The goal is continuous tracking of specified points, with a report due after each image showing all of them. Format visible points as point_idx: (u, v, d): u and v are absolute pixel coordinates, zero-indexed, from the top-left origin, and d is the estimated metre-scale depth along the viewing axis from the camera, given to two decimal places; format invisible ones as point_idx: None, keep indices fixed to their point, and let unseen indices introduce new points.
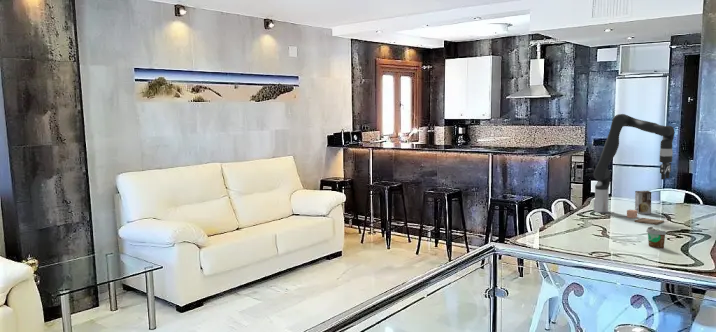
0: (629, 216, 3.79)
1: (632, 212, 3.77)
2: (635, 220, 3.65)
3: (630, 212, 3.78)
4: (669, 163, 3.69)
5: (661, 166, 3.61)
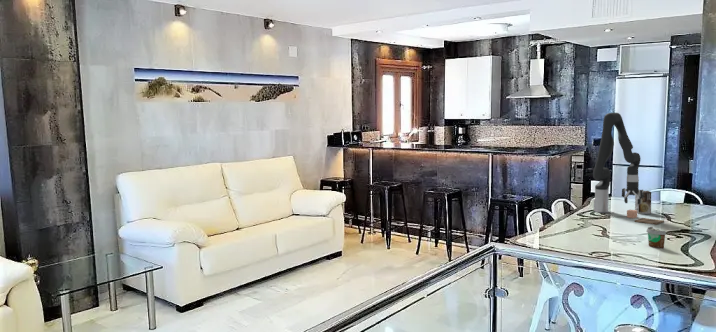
0: (629, 216, 3.79)
1: (632, 212, 3.77)
2: (635, 220, 3.65)
3: (630, 212, 3.78)
4: (624, 188, 3.83)
5: (642, 191, 3.72)
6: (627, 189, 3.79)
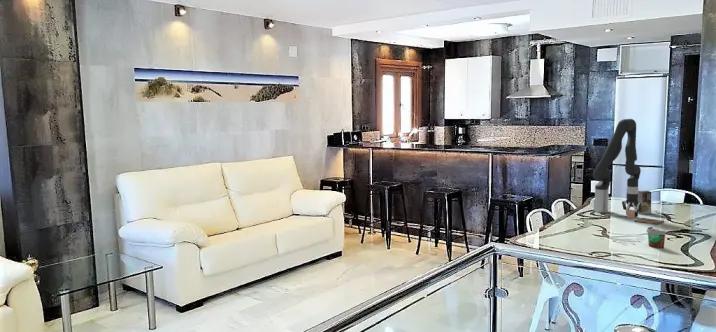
0: (629, 216, 3.79)
1: (632, 212, 3.77)
2: (635, 220, 3.65)
3: (630, 212, 3.78)
4: None
5: (641, 205, 3.74)
6: (627, 201, 3.81)
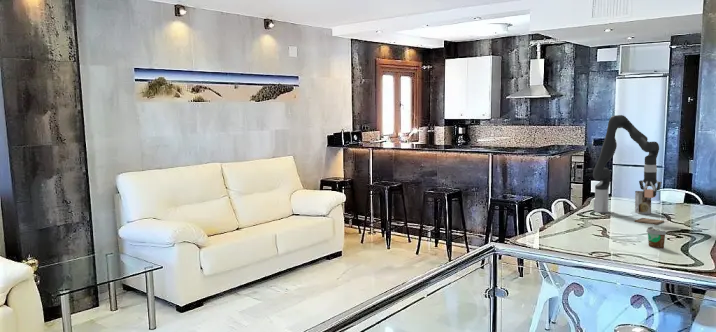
0: (647, 196, 3.61)
1: (650, 191, 3.59)
2: (635, 220, 3.65)
3: (648, 191, 3.60)
4: (641, 180, 3.65)
5: (660, 184, 3.56)
6: (644, 180, 3.62)
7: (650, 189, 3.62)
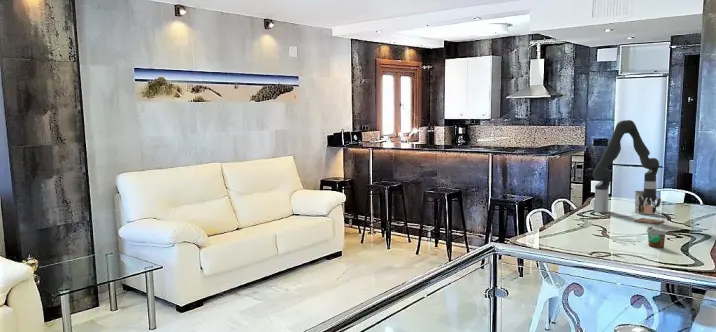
0: (647, 212, 3.62)
1: (650, 208, 3.60)
2: (635, 220, 3.65)
3: (648, 208, 3.61)
4: (641, 196, 3.66)
5: (659, 200, 3.57)
6: (644, 196, 3.63)
7: (650, 205, 3.64)
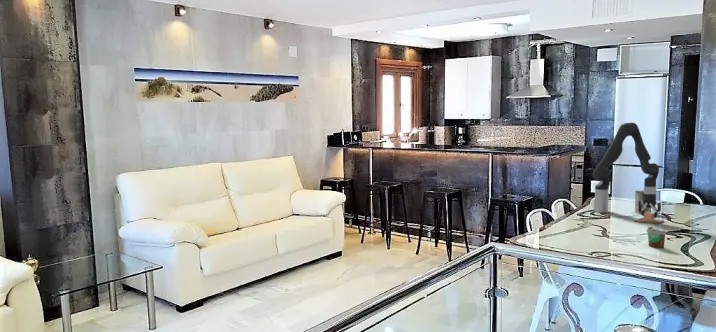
0: (646, 219, 3.62)
1: (649, 215, 3.60)
2: (635, 220, 3.65)
3: (647, 215, 3.61)
4: (641, 201, 3.67)
5: (660, 204, 3.57)
6: (644, 201, 3.64)
7: None
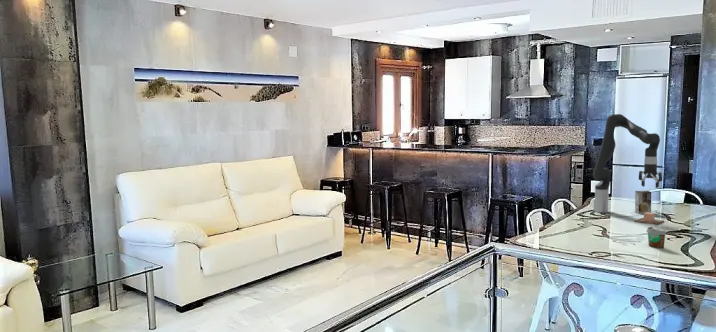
0: (646, 219, 3.62)
1: (649, 215, 3.60)
2: (635, 220, 3.65)
3: (647, 215, 3.61)
4: None
5: (661, 174, 3.55)
6: (645, 172, 3.62)
7: None
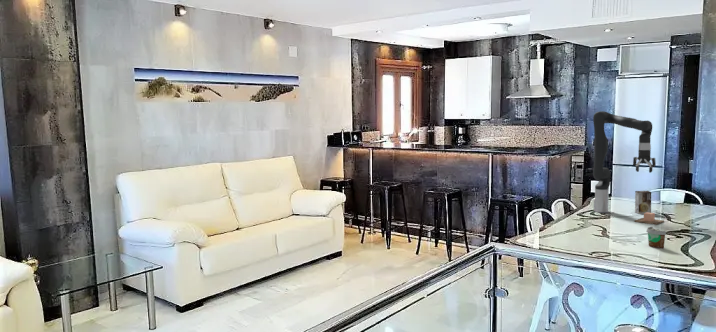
0: (646, 219, 3.62)
1: (649, 215, 3.60)
2: (635, 220, 3.65)
3: (647, 215, 3.61)
4: (636, 157, 3.80)
5: (654, 159, 3.70)
6: (639, 157, 3.77)
7: None
